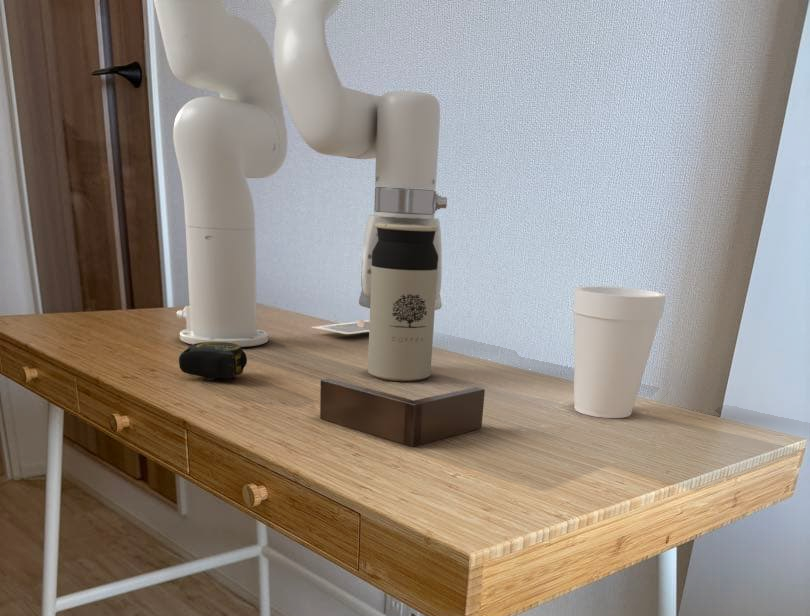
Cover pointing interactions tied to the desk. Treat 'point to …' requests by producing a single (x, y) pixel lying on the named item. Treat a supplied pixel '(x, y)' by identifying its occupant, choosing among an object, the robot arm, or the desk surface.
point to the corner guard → (401, 412)
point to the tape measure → (213, 360)
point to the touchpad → (347, 327)
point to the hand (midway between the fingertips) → (397, 353)
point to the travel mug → (402, 301)
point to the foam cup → (612, 346)
